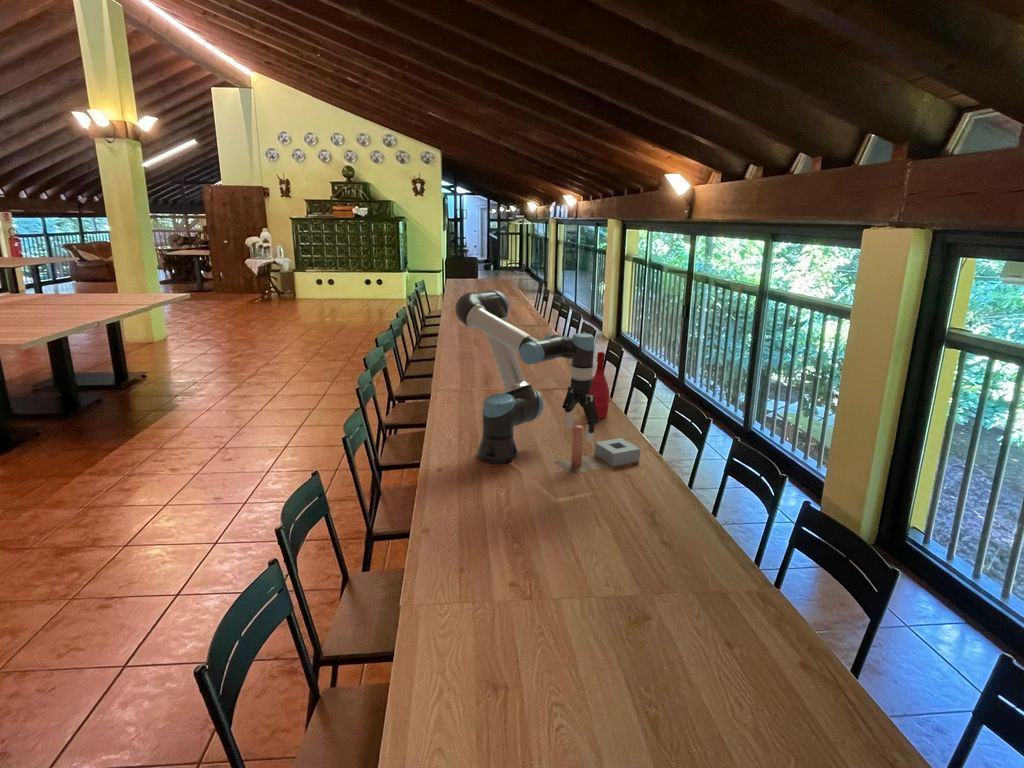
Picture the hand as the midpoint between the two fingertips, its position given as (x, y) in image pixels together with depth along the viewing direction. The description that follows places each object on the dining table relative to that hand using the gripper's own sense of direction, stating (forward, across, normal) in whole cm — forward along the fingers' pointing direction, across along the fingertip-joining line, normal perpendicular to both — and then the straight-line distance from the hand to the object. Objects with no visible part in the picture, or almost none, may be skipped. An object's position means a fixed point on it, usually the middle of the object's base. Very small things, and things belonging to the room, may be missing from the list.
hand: (578, 434), depth 222 cm
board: (+13, 0, -9) cm, 16 cm away
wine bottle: (+13, +46, -40) cm, 63 cm away
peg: (+12, 0, 0) cm, 12 cm away
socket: (+13, 0, -18) cm, 22 cm away
